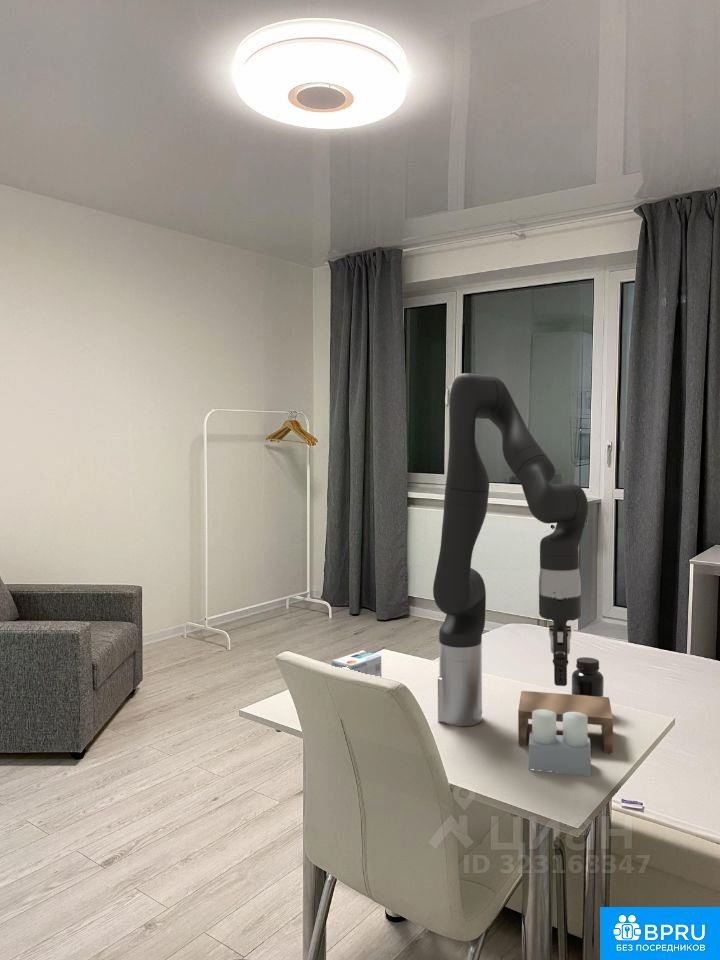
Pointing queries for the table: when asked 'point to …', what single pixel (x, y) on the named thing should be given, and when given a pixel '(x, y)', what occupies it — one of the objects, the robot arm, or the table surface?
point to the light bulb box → (361, 662)
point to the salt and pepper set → (560, 743)
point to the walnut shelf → (562, 703)
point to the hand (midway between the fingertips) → (560, 677)
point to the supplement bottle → (587, 678)
